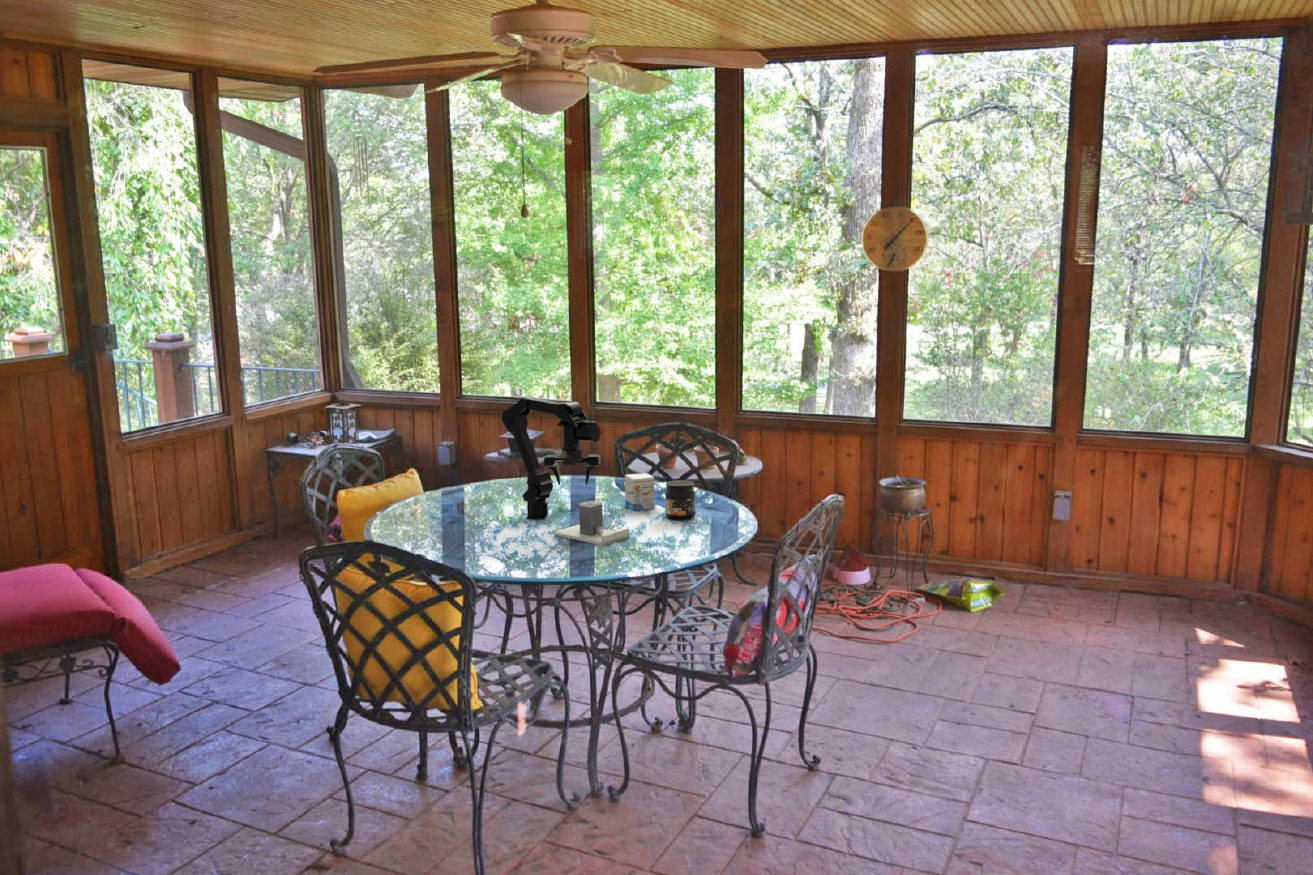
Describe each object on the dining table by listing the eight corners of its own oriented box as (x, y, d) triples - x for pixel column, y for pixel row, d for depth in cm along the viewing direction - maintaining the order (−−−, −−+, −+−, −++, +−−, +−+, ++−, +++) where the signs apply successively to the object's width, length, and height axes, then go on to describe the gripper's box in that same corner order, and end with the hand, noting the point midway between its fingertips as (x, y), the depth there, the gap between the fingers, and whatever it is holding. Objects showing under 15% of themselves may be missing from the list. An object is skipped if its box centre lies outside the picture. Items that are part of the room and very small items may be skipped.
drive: (579, 533, 345) (579, 503, 344) (591, 530, 350) (590, 500, 348) (591, 536, 342) (590, 505, 341) (602, 532, 347) (602, 502, 345)
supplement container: (660, 519, 367) (659, 484, 365) (672, 512, 376) (672, 478, 374) (688, 521, 362) (688, 487, 360) (700, 514, 372) (700, 480, 370)
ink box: (633, 511, 378) (632, 478, 376) (624, 506, 386) (624, 474, 384) (655, 508, 382) (655, 476, 379) (647, 503, 389) (646, 472, 387)
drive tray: (554, 534, 349) (553, 524, 348) (579, 527, 358) (579, 517, 357) (604, 545, 335) (603, 534, 334) (629, 537, 344) (629, 526, 343)
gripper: (540, 444, 352) (541, 490, 355) (596, 443, 351) (597, 490, 354) (545, 438, 363) (547, 483, 366) (600, 437, 362) (601, 482, 365)
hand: (573, 484), depth 362 cm, fingers open, 9 cm apart
